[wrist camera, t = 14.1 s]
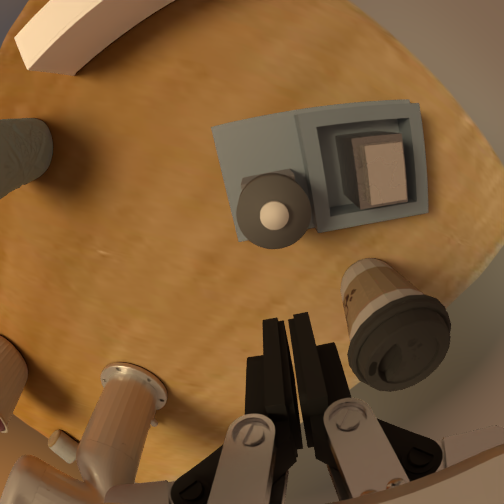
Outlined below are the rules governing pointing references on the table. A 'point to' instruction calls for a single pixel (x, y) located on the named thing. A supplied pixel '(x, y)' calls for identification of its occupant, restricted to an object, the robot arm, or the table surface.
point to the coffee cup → (391, 327)
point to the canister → (10, 380)
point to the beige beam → (78, 31)
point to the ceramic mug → (63, 446)
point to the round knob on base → (273, 211)
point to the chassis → (322, 157)
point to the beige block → (372, 168)
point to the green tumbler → (23, 152)
